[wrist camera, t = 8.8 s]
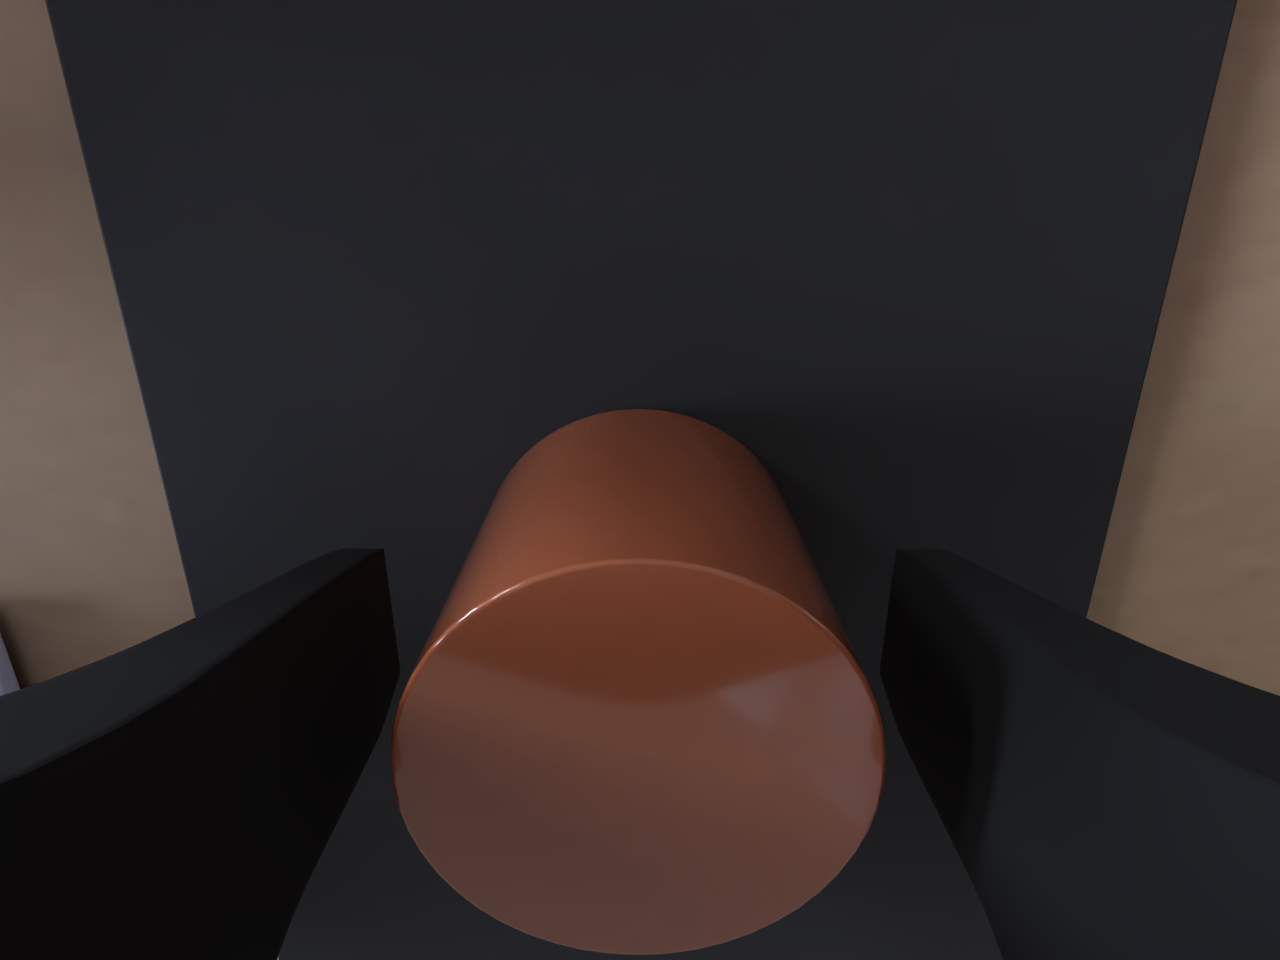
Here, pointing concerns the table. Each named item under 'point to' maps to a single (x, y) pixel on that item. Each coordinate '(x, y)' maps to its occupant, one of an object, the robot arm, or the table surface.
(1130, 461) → the table surface
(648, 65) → the mat
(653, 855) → the copper cylinder
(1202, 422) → the table surface
